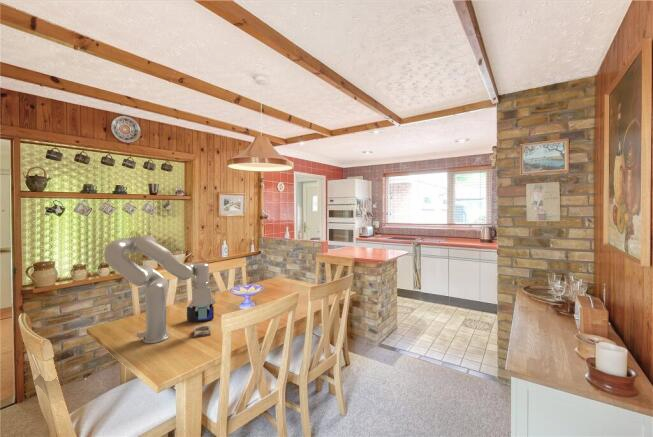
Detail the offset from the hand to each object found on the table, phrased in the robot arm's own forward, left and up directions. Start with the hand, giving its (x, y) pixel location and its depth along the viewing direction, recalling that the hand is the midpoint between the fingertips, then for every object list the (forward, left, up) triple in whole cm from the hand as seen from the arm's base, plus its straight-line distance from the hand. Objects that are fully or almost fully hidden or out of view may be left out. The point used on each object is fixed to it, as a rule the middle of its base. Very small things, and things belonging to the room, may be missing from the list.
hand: (202, 316), depth 166 cm
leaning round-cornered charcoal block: (-1, +21, -10) cm, 23 cm away
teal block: (0, 0, -1) cm, 1 cm away
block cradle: (0, 0, -10) cm, 10 cm away
